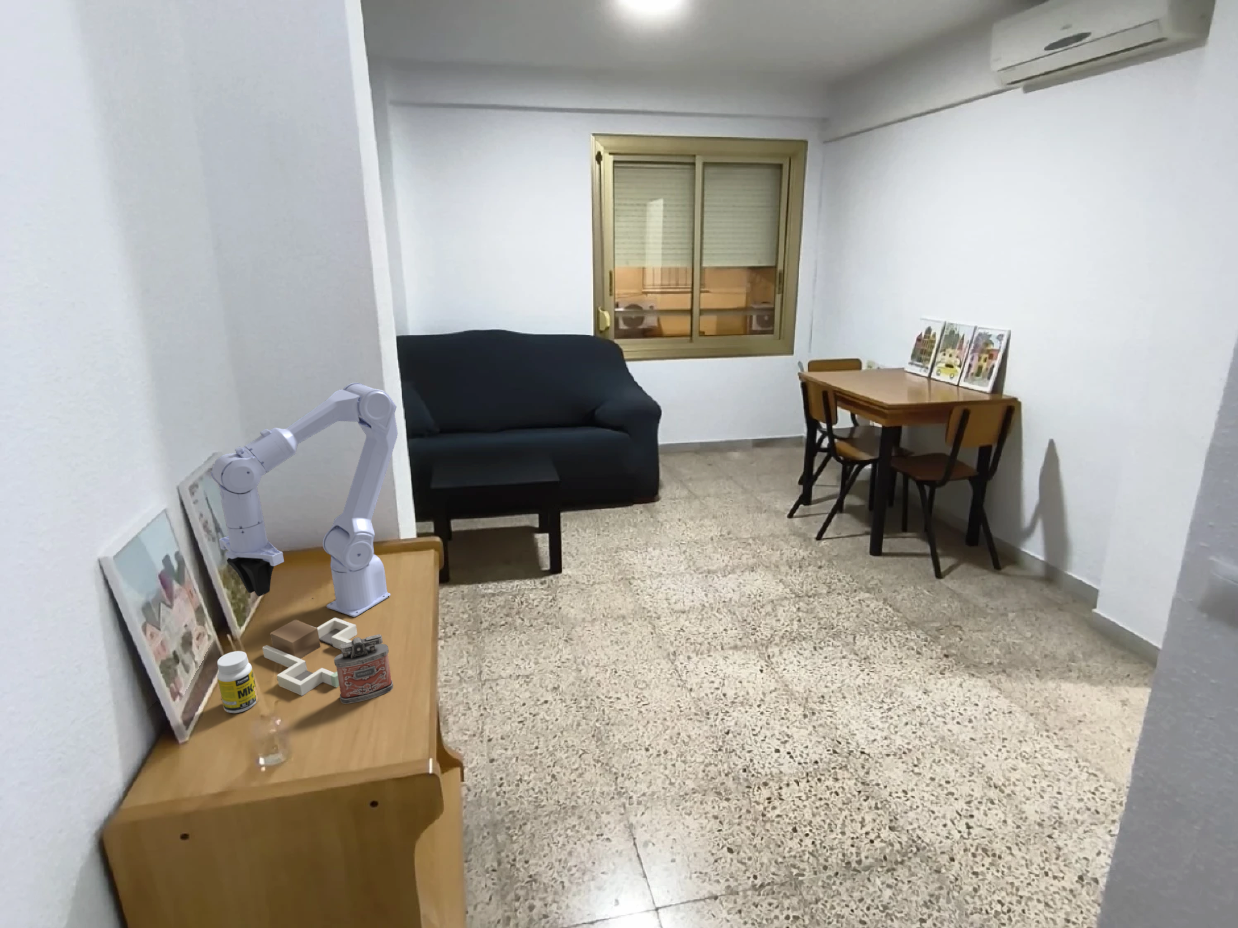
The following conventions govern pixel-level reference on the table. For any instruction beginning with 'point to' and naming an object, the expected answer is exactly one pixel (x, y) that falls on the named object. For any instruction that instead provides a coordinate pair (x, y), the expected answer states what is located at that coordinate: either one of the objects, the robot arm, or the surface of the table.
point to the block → (296, 639)
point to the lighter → (363, 669)
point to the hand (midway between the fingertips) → (258, 592)
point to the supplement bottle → (236, 682)
